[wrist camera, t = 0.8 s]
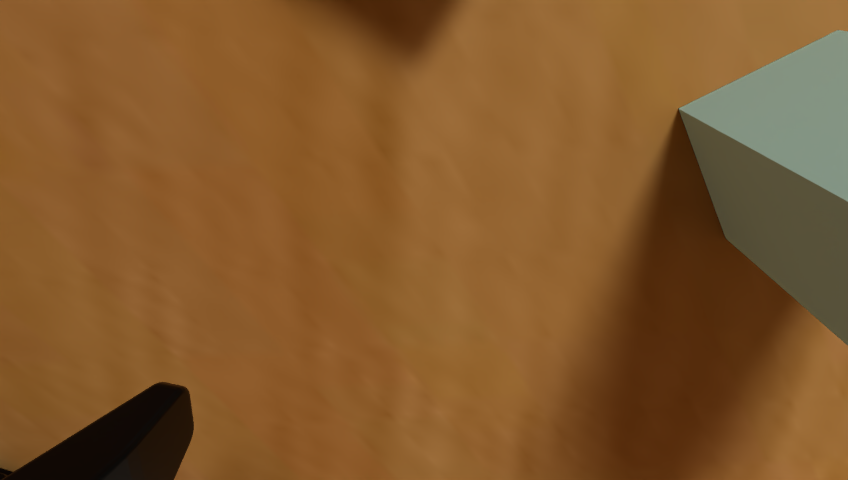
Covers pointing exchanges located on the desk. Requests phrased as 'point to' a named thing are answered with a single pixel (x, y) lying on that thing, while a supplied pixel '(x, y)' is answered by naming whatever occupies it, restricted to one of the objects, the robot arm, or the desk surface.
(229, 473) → the desk surface
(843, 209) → the pillar
